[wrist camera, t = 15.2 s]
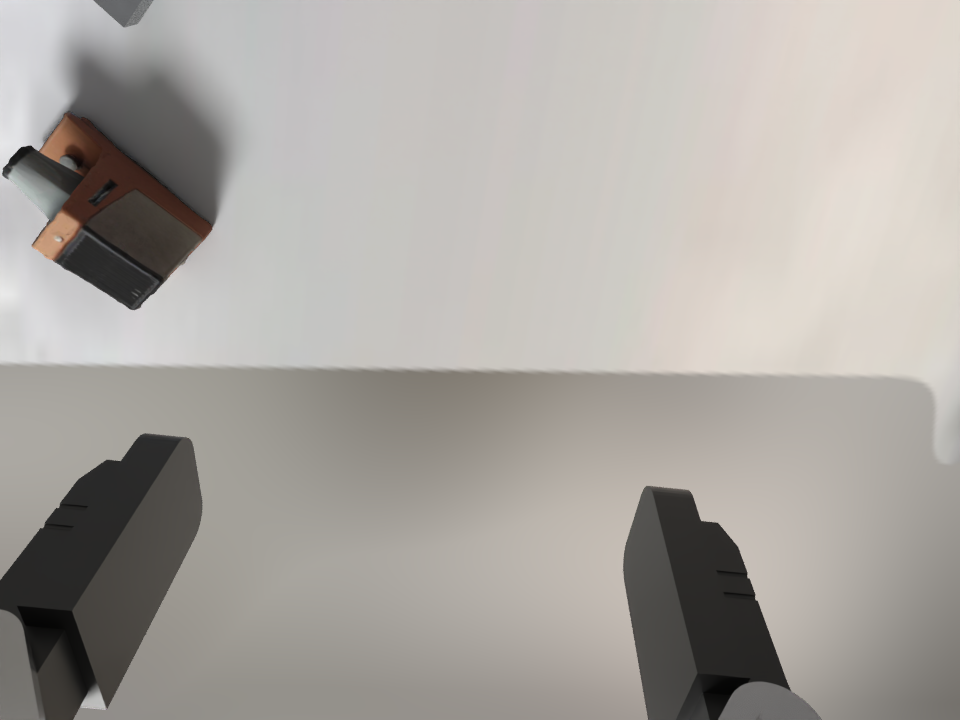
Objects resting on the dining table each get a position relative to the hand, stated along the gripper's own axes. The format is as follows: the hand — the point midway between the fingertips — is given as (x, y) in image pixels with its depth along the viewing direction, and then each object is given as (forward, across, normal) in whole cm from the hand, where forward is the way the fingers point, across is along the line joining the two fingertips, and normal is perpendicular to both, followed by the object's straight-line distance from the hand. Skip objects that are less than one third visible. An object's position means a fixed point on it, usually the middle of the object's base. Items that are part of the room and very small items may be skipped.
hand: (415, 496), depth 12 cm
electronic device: (+30, +20, +7) cm, 37 cm away
